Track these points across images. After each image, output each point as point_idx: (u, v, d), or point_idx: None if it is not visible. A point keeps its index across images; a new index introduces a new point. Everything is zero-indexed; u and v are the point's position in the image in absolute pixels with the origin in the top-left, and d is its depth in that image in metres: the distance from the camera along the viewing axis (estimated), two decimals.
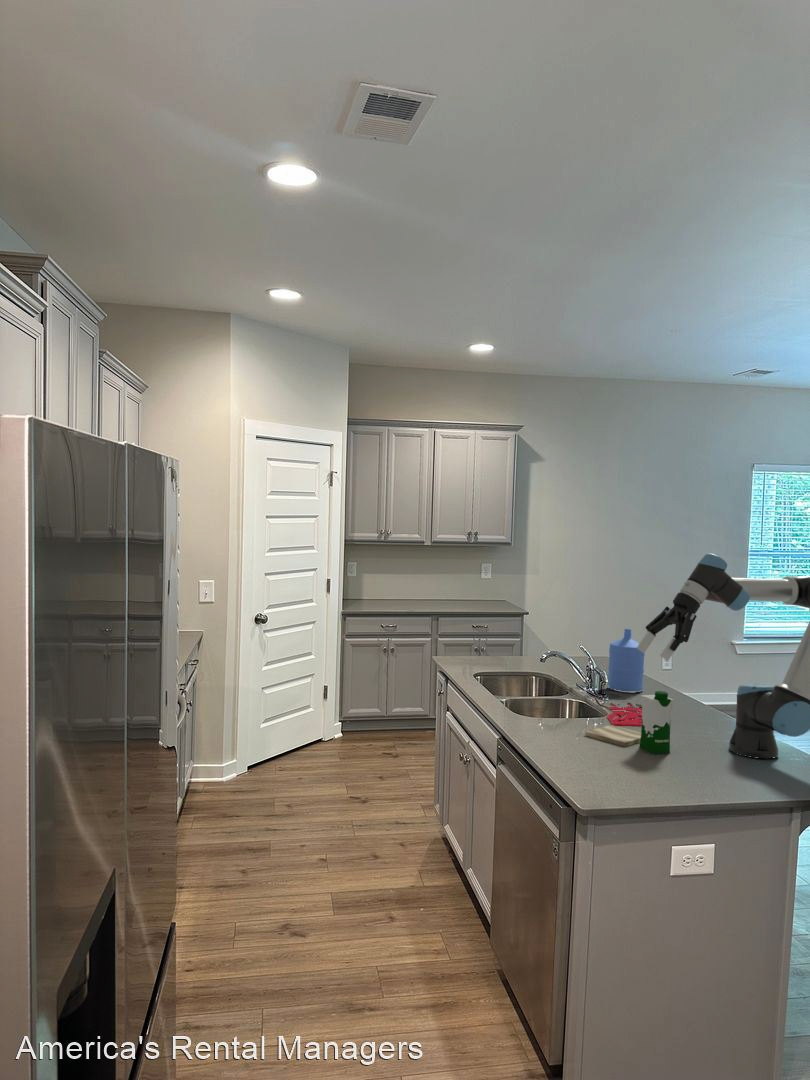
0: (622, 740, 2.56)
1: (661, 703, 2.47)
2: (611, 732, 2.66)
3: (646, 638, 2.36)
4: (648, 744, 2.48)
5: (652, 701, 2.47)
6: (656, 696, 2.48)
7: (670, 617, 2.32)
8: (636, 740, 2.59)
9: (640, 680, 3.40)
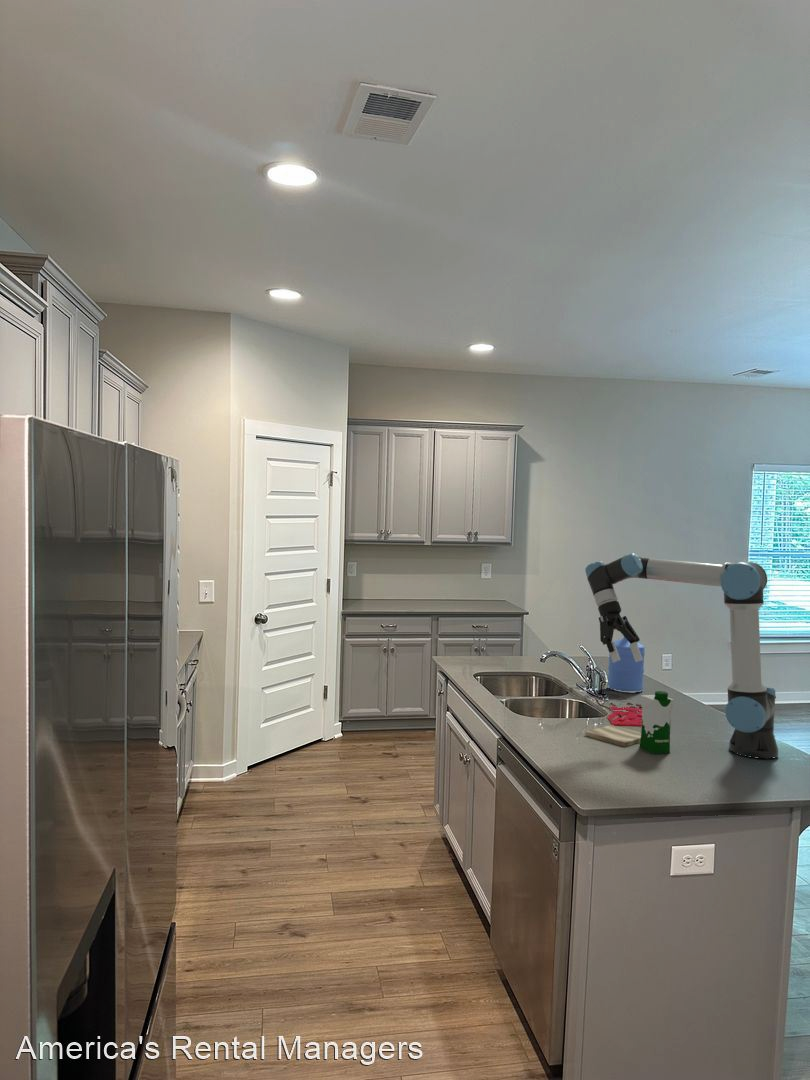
0: (622, 740, 2.56)
1: (661, 703, 2.47)
2: (611, 732, 2.66)
3: (632, 650, 2.65)
4: (648, 744, 2.48)
5: (652, 701, 2.47)
6: (656, 696, 2.48)
7: None
8: (636, 740, 2.59)
9: (640, 680, 3.40)
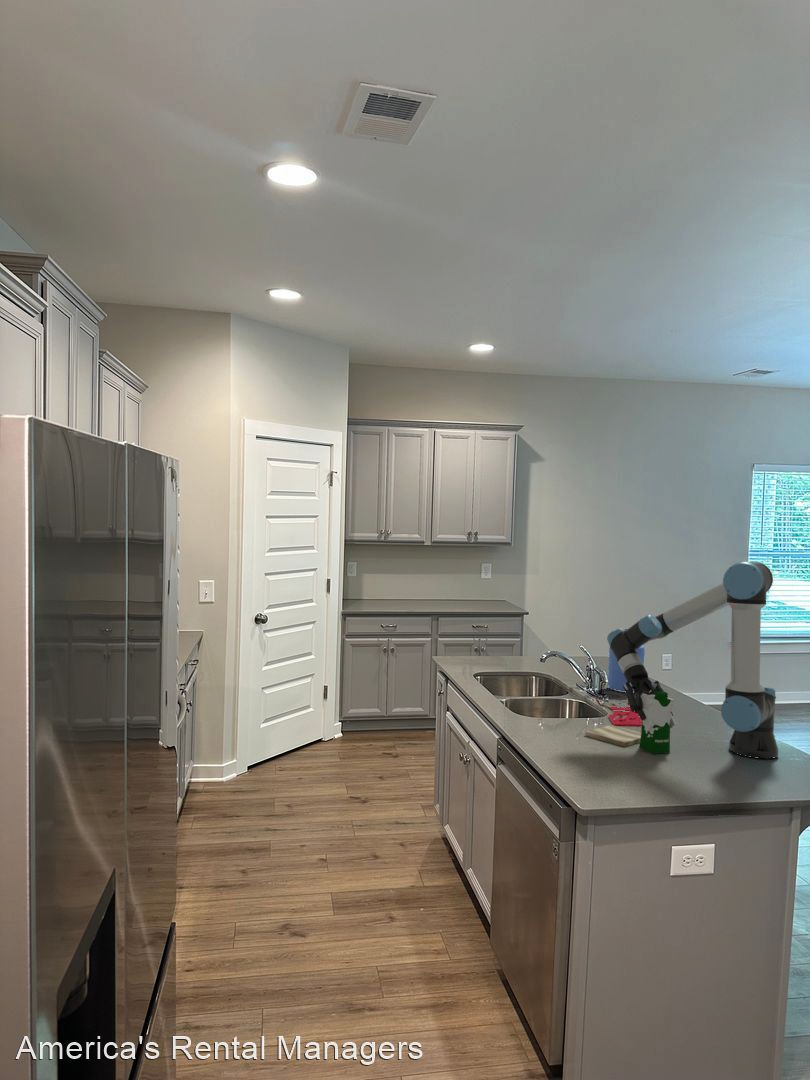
0: (622, 740, 2.56)
1: (661, 703, 2.47)
2: (611, 732, 2.66)
3: None
4: (647, 744, 2.48)
5: (652, 701, 2.47)
6: (656, 696, 2.48)
7: None
8: (636, 740, 2.59)
9: None
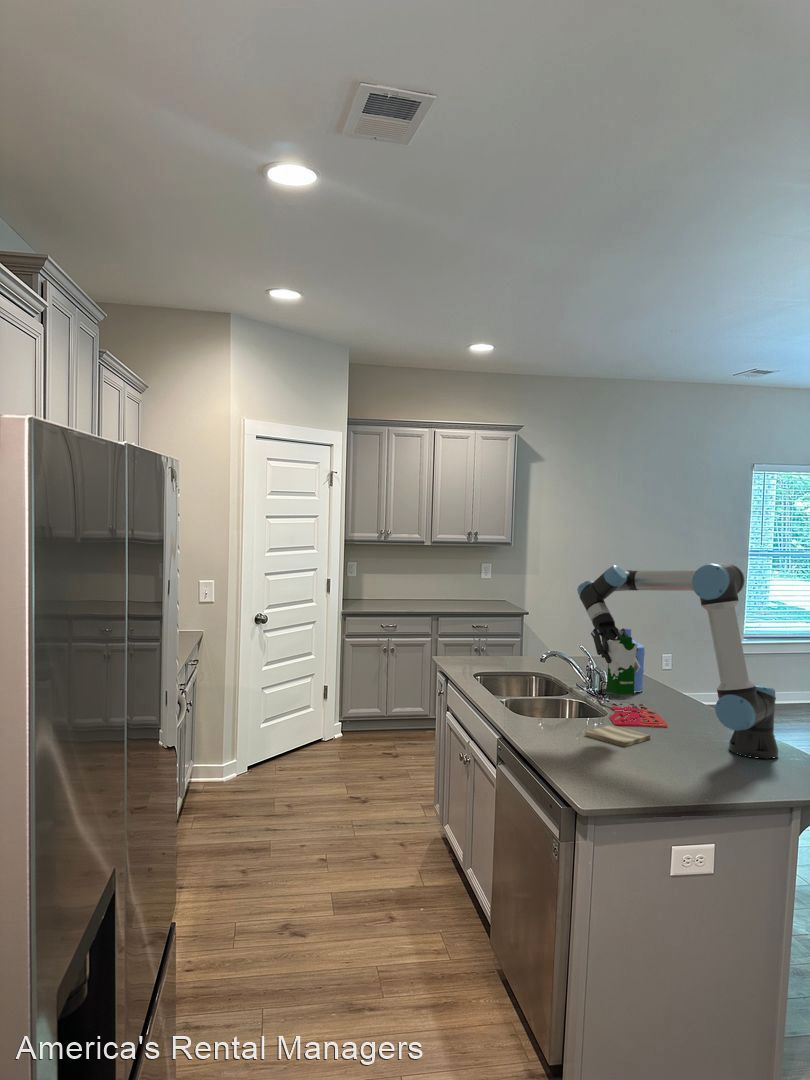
0: (622, 740, 2.56)
1: (626, 647, 2.60)
2: (611, 732, 2.66)
3: None
4: (613, 686, 2.62)
5: (617, 645, 2.61)
6: (621, 640, 2.62)
7: None
8: (636, 740, 2.59)
9: (640, 680, 3.40)
